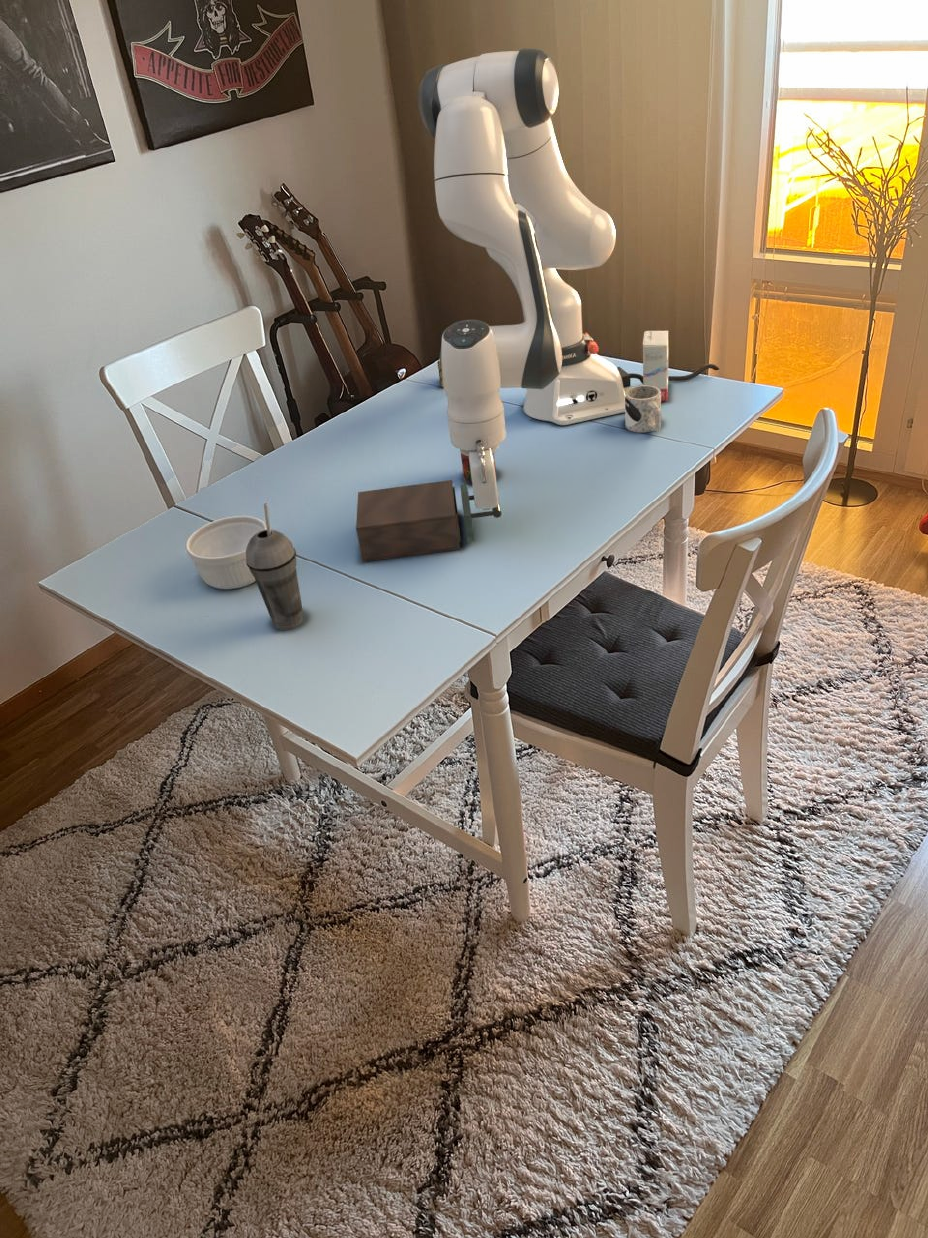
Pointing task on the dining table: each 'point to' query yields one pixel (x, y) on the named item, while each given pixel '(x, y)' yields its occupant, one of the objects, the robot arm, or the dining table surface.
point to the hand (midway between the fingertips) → (485, 505)
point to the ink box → (656, 361)
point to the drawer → (467, 512)
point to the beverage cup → (276, 575)
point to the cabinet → (407, 521)
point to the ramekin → (224, 551)
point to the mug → (643, 408)
